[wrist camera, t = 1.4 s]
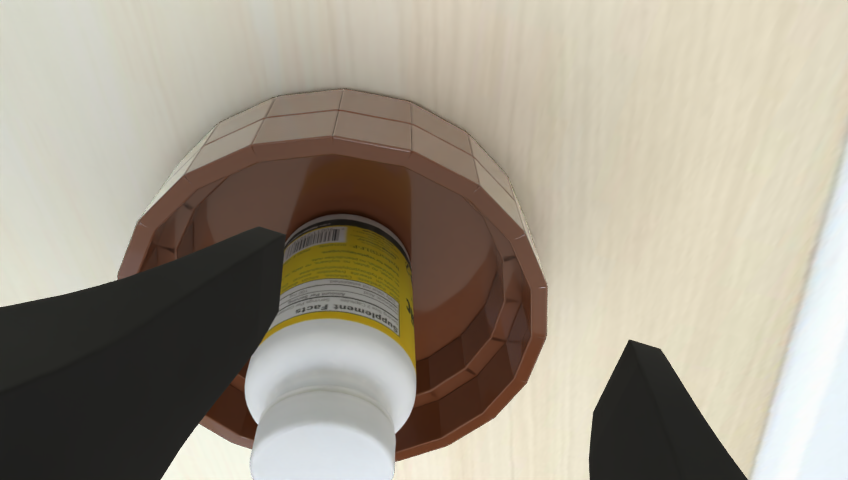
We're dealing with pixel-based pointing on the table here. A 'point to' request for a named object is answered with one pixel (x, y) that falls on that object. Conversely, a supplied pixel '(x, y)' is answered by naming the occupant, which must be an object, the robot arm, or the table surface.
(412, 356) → the supplement bottle
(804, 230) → the table surface
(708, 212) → the table surface
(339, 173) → the glazed bowl
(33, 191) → the table surface
